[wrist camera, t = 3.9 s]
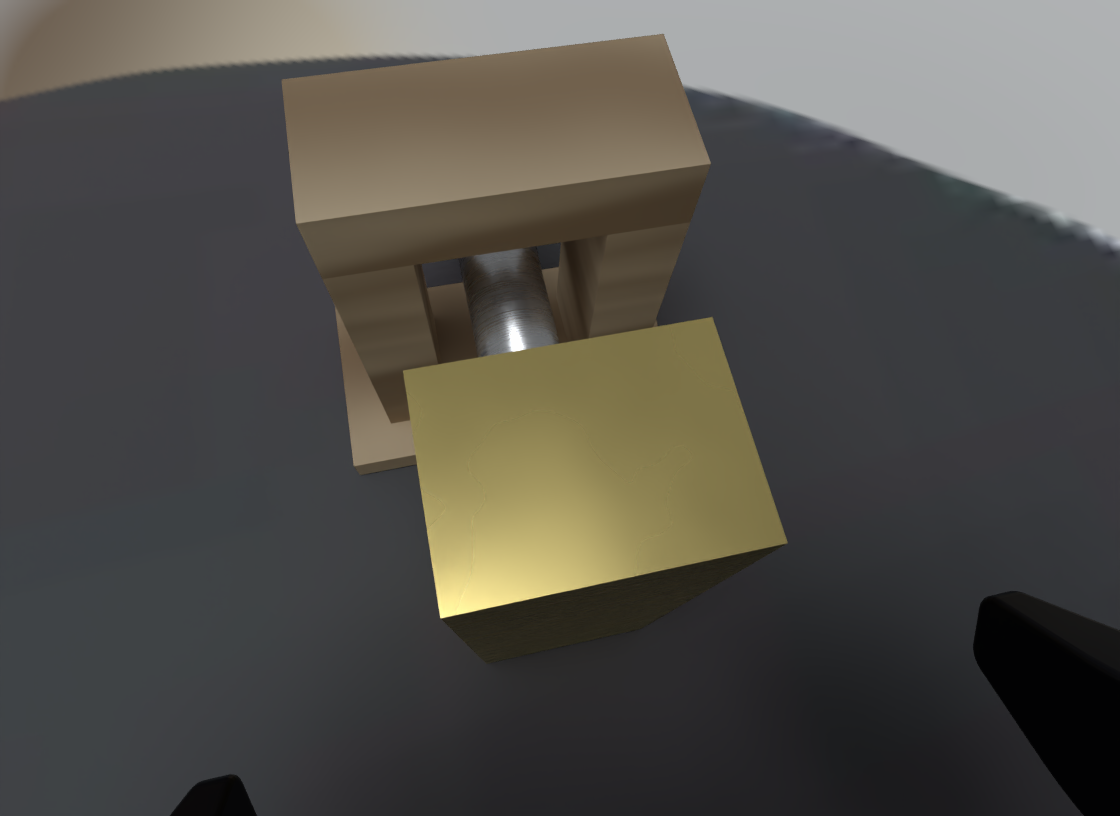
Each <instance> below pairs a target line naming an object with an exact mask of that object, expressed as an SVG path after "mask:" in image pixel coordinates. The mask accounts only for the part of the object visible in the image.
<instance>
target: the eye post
mask: <svg viewBox="0 0 1120 816" xmlns="http://www.w3.org/2000/svg"><path fill="white" fill-rule="evenodd" d="M282 88H283V98H284V108H285V118H286V128H287V138H288V148H289V158H290V168H291V178H292V188H293V198H294V208H295V217H296V224H297V227H298V229H299V231H300V233H301V235H302V237H303V239H304V241H305V243H306V246H307V248H308V250H309V252H310V254H311V256H312V258H313V260H314V262H315V264H316V267H317V269H318V271H319V273H320V275H321V277H322V279H323V281H324V283H325V285H326V288H327V290H328V292H329V294H330V296H331V298H332V300H333V302H334V304H335V310H336V318H337V327H338V335H339V344H340V352H341V361H342V369H343V378H344V386H345V395H346V403H347V412H348V420H349V429H350V437H351V445H352V454H353V462H354V467H355V468H356V470H357V471H358V473H359V474H360V475H363V474H369V473H374V472H379V471H384V470H390V469H395V468H400V467H406V466H411V465H416V464H417V460H416V454H415V447H414V440H413V434H412V427H411V421H410V414H409V407H408V401H407V394H406V388H405V381H404V374H403V370H409V369H415V368H421V367H426V366H432V365H438V364H444V363H450V362H455V361H461V360H467V359H473V358H478V355H477V350H476V345H475V340H474V335H473V330H472V325H471V320H470V314H469V309H468V304H467V299H466V294H465V289H464V284H463V282H462V283H456V284H449V285H443V286H437V287H431V288H427V286H426V282H425V277H424V273H423V269H422V264H424V263H430V262H437V261H443V260H450V259H456V258H463V257H469V256H475V255H482V254H488V253H495V252H501V251H508V250H514V249H521V248H527V247H534V246H540V245H547V244H553V243H559V242H561V249H560V261H559V267H556V268H550V269H544V270H542V273H543V277H544V282H545V286H546V290H547V294H548V298H549V302H550V306H551V310H552V315H553V319H554V323H555V327H556V331H557V335H558V339H559V343H565V342H571V341H577V340H583V339H589V338H594V337H600V336H606V335H612V334H618V333H623V332H629V331H635V330H641V329H646V328H652V327H658V325H657V321H656V317H657V315H658V312H659V309H660V306H661V303H662V300H663V298H664V295H665V292H666V289H667V286H668V283H669V281H670V278H671V275H672V272H673V269H674V267H675V264H676V261H677V258H678V255H679V252H680V250H681V247H682V244H683V241H684V238H685V235H686V233H687V230H688V227H689V224H690V221H691V219H692V216H693V213H694V210H695V207H696V204H697V202H698V199H699V196H700V193H701V190H702V187H703V185H704V182H705V179H706V176H707V173H708V170H709V168H710V165H711V163H710V160H709V157H708V154H707V152H706V149H705V146H704V143H703V141H702V138H701V135H700V132H699V130H698V127H697V124H696V121H695V119H694V116H693V113H692V111H691V108H690V105H689V102H688V100H687V97H686V94H685V91H684V89H683V86H682V83H681V81H680V78H679V75H678V72H677V69H676V67H675V64H674V61H673V58H672V56H671V53H670V50H669V47H668V45H667V42H666V39H665V37H664V34H659V35H651V36H642V37H634V38H625V39H617V40H609V41H600V42H593V43H584V44H575V45H567V46H559V47H550V48H542V49H534V50H526V51H518V52H509V53H501V54H492V55H483V56H475V57H467V58H458V59H450V60H442V61H433V62H425V63H417V64H408V65H400V66H392V67H383V68H375V69H367V70H358V71H350V72H342V73H333V74H325V75H317V76H308V77H300V78H292V79H283V80H282Z"/></svg>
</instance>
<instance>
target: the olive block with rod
mask: <svg viewBox="0 0 1120 816" xmlns="http://www.w3.org/2000/svg"><path fill="white" fill-rule="evenodd" d="M459 263H460V268H461V273H462V278H463V284H464V289H465V294H466V299H467V304H468V309H469V314H470V320H471V325H472V330H473V335H474V340H475V345H476V350H477V355H478V358H473V359H467V360H461V361H455V362H450V363H444V364H438V365H432V366H426V367H421V368H415V369H409V370H403V374H404V381H405V388H406V394H407V401H408V407H409V414H410V421H411V427H412V434H413V440H414V447H415V454H416V460H417V467H418V473H419V480H420V487H421V493H422V500H423V506H424V513H425V520H426V526H427V533H428V539H429V546H430V553H431V559H432V566H433V572H434V579H435V586H436V592H437V599H438V605H439V612H440V618H441V619H442V620H443V621H444V622H445V623H446V624H447V625H448V626H449V627H450V628H451V629H452V630H453V631H454V632H455V633H456V634H457V635H458V636H459V637H460V638H461V639H462V640H463V641H464V642H465V643H466V644H467V645H468V646H469V647H470V648H471V649H472V650H473V651H474V652H475V653H476V654H477V655H478V656H479V657H480V658H481V659H482V660H483V661H484V662H485V663H486V664H488V663H492V662H497V661H501V660H505V659H510V658H514V657H519V656H523V655H527V654H532V653H536V652H541V651H545V650H549V649H554V648H558V647H563V646H567V645H572V644H576V643H580V642H585V641H589V640H594V639H598V638H602V637H607V636H611V635H616V634H620V633H625V632H629V631H633V630H638V629H641V628H643V627H645V626H646V625H648V624H650V623H652V622H653V621H655V620H657V619H658V618H660V617H662V616H664V615H665V614H667V613H669V612H670V611H672V610H674V609H676V608H677V607H679V606H681V605H682V604H684V603H686V602H688V601H689V600H691V599H693V598H694V597H696V596H698V595H700V594H701V593H703V592H705V591H706V590H708V589H710V588H712V587H713V586H715V585H717V584H718V583H720V582H722V581H724V580H725V579H727V578H729V577H730V576H732V575H734V574H736V573H737V572H739V571H741V570H742V569H744V568H746V567H748V566H749V565H751V564H753V563H754V562H756V561H758V560H760V559H761V558H763V557H765V556H766V555H768V554H770V553H772V552H773V551H775V550H777V549H779V548H780V547H782V546H784V545H785V544H787V540H786V537H785V534H784V531H783V528H782V525H781V522H780V519H779V516H778V513H777V510H776V507H775V504H774V501H773V498H772V495H771V492H770V489H769V486H768V483H767V480H766V477H765V474H764V471H763V468H762V465H761V462H760V459H759V456H758V453H757V450H756V447H755V444H754V441H753V438H752V435H751V432H750V429H749V426H748V423H747V420H746V417H745V414H744V411H743V408H742V405H741V402H740V399H739V396H738V393H737V390H736V387H735V384H734V381H733V378H732V375H731V372H730V369H729V366H728V363H727V360H726V357H725V354H724V351H723V348H722V345H721V342H720V339H719V336H718V333H717V330H716V327H715V324H714V321H713V318H712V317H710V318H704V319H699V320H693V321H687V322H681V323H675V324H670V325H664V326H658V327H652V328H646V329H641V330H635V331H629V332H623V333H618V334H612V335H606V336H600V337H594V338H589V339H583V340H577V341H571V342H565V343H559V339H558V335H557V331H556V327H555V323H554V319H553V315H552V310H551V306H550V302H549V298H548V294H547V290H546V286H545V282H544V277H543V273H542V269H541V265H540V261H539V257H538V253H537V248H536V246H534V247H527V248H521V249H514V250H508V251H501V252H495V253H488V254H482V255H475V256H469V257H463V258H459Z"/></svg>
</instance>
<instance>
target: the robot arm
mask: <svg viewBox="0 0 1120 816" xmlns="http://www.w3.org/2000/svg"><path fill="white" fill-rule="evenodd" d="M973 651H974V656H975V659H976V661H977V664H978V666H979V667H980V669H981V671H982V672H983V674H984V675H985V677H986V678H987V680H988V681H989V683H990V684H991V686H992V687H993V688H994V690H995V691H996V693H997V694H998V696H999V697H1000V699H1001V700H1002V702H1003V703H1004V705H1005V706H1006V708H1007V709H1008V711H1009V712H1010V714H1011V715H1012V717H1013V718H1014V720H1015V721H1016V723H1017V724H1018V726H1019V727H1020V729H1021V730H1022V732H1023V733H1024V735H1025V736H1026V738H1027V739H1028V741H1029V742H1030V744H1031V745H1032V746H1033V748H1034V749H1035V751H1036V752H1037V754H1038V755H1039V757H1040V758H1041V760H1042V761H1043V763H1044V764H1045V766H1046V767H1047V768H1048V770H1049V771H1050V773H1051V774H1052V775H1053V777H1054V778H1055V780H1056V781H1057V782H1058V784H1059V785H1060V786H1061V788H1062V789H1063V790H1064V791H1065V793H1066V794H1067V795H1068V797H1069V798H1070V799H1071V800H1072V802H1073V803H1074V804H1075V805H1076V807H1077V808H1078V809H1079V810H1080V812H1081V813H1082V814H1083V815H1084V816H1120V630H1117V629H1115V628H1112V627H1110V626H1107V625H1104V624H1102V623H1099V622H1097V621H1094V620H1092V619H1089V618H1086V617H1084V616H1081V615H1079V614H1076V613H1074V612H1071V611H1068V610H1066V609H1063V608H1061V607H1058V606H1056V605H1053V604H1050V603H1048V602H1045V601H1043V600H1040V599H1038V598H1035V597H1032V596H1030V595H1027V594H1025V593H1022V592H1018V591H1009V592H1005V593H1001V594H996V595H992V596H988V597H986V598H984V600H983V601H982V602H981V604H980V607H979V613H978V619H977V625H976V631H975V637H974V643H973ZM170 816H257V815H256V813H255V810H254V808H253V806H252V803H251V801H250V799H249V796H248V794H247V792H246V789H245V787H244V785H243V783H242V781H241V779H240V778H239V777H238V776H237V775H231V774H229V775H225V776H221V777H217V778H212V779H208V780H204V781H201V782H199V783H197V784H196V785H195V786H194V787H192V789H191V790H190V791H189V792H188V793H187V795H186V796H185V797H184V798H183V800H182V801H181V802H180V803H179V805H178V806H177V807H176V808H175V810H174V811H173V812H172V814H171V815H170Z"/></svg>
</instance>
